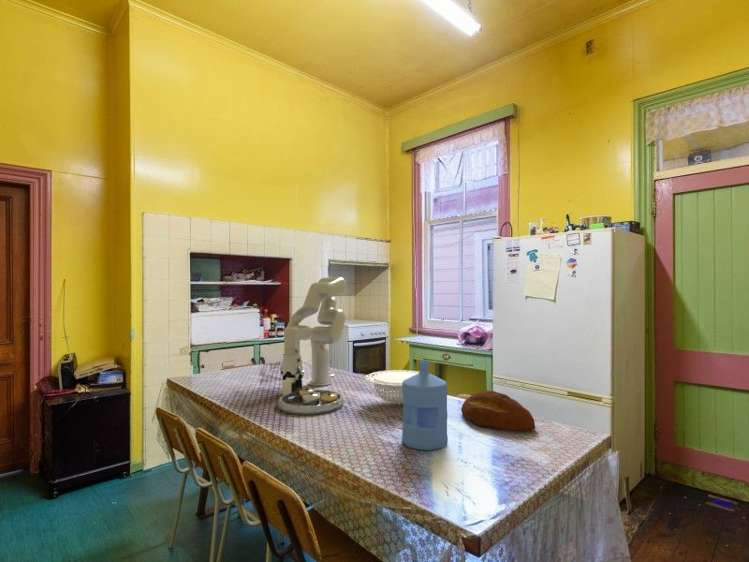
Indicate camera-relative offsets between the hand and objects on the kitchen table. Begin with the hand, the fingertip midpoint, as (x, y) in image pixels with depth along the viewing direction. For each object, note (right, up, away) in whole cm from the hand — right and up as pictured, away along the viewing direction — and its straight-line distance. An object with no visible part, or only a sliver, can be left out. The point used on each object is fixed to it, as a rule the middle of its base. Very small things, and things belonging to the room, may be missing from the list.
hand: (291, 385), depth 209 cm
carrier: (+13, -4, -19) cm, 24 cm away
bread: (+89, -4, -44) cm, 100 cm away
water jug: (+59, -3, -65) cm, 87 cm away
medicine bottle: (0, -4, 0) cm, 4 cm away
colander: (+53, -4, -20) cm, 56 cm away
